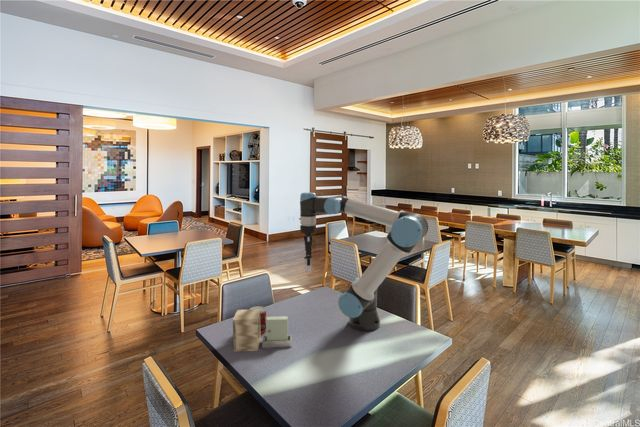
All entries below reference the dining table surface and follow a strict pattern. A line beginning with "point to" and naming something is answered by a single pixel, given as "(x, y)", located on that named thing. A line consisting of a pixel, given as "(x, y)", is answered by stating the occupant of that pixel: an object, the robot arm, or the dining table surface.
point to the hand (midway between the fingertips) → (308, 267)
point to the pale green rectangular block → (277, 328)
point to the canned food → (261, 318)
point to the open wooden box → (246, 330)
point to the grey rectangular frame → (277, 343)
